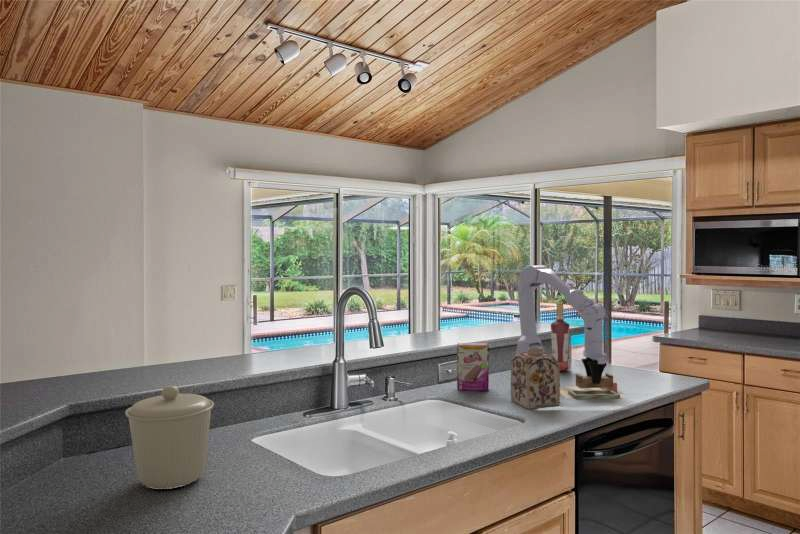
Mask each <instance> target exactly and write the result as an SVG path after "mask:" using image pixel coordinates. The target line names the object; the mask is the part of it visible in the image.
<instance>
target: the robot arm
mask: <svg viewBox="0 0 800 534" xmlns="http://www.w3.org/2000/svg"><path fill="white" fill-rule="evenodd" d="M545 284H546V285H549V286H550V287H552V288H553V289H554V290H556V291H557V293H559V294H561V295H562V296H564V298H565V302H566V303H567V304H568V305H569V306H570V307H572V308H573V309H574V310H575V311H577V312H578V313H579V314H580V318H581V319H582V321H583V326H584V329H583V331H584V332H583V333H584V350H582V351H583V352H582V353H583V355H582V356H583V357H585V358H581V359H580V360H581V363H582V364H583V366H584V369H585V372H586V376H592V382H593V384H600V381H601V377H602V376H603V373H604V370H605V368H606V367H607V362H606V357H607V354H606V353H605V352H604V348H603V347H604V346H603V345H604V341H603V340H604V333H603V331H604V326H603V324H604V322H603V320H604V319H605V318H606V314H607V312H606V308H605V307H604V306H603V304H601V303H598V302H595V300H594V299H591V298H589V296H587V295H585V293H584V291H583V290H582V289H577V288H575V289H572V287H570V286H569V285H568V284H567V283H566V282H564V280H562V279H561V278H560V277H559V276H558V275H557V274H556V273H555V272H554V270H553V269H551V268H549V267H548V266H547V265H545V264H539V265H530V264H529V265H526V266H524V267H523V268H522V269H521V270H520V272H519V281H518V284H517V286H516V287H517V288H516V289H517V301H518V302H517V303H518V312H519V322H520V325H519V326H520V338H519V339H518V340H517V342H516V350H515V356H516V355H517V354H519V353H522V352H527V349H528V348H532V347H539V348H542V352H544V353H545V349H544V346H543V344H542V339H541V338H540V337H539V336H538V333H537V322H536V311H535V300H534V292H535V290H536V289H537V288H538V287H539V286H541V285H545Z"/></svg>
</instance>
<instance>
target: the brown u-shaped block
mask: <svg viewBox="0 0 800 534" xmlns="http://www.w3.org/2000/svg"><path fill="white" fill-rule="evenodd" d="M613 381H614V375H613V374H611V373H608V372H605V375H602V377H601V381H600V384H593V382H592V376H587V375H584V376H583V375H582V374H580V373H575V387H579V388H607V387H613Z"/></svg>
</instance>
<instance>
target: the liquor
mask: <svg viewBox="0 0 800 534" xmlns="http://www.w3.org/2000/svg"><path fill="white" fill-rule="evenodd" d="M563 309H564V301H556V319H555V321H553V322H552V323H551V324H550V338H551V339H550V340H551V355H553V356H554V357H555V359H556V360H557V362H558V364H559V366H560V367H559V368H560V373H565V372H567V371H568V370H569V369H570V367H569V341H570V324H569V323H568V322H567V321H565V319H564V310H563Z"/></svg>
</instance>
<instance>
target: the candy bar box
mask: <svg viewBox="0 0 800 534" xmlns="http://www.w3.org/2000/svg"><path fill="white" fill-rule="evenodd" d="M456 347H457V350H456V351H457V352H456V353H457V354H456V359H457V360H456V365H457V366H456V371H457V372H456V374H457V375H456V377H457V378H456V381H457V382H456V385H457V387H456V389H457V391H463V392H464V391H465V392H466V391H467V392H489V383H490V382H489V376H490V375H489V369H490V368H489V365H490V364H489V363H490V362H489V361H490V359H489V355H490V354H489V353H490V351H489V350H490V349H489V348H490V347H489V343H487V342H486V343H483V342H482V343H478V342H477V343H474V342H471V343H470V342H457V346H456Z"/></svg>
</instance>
